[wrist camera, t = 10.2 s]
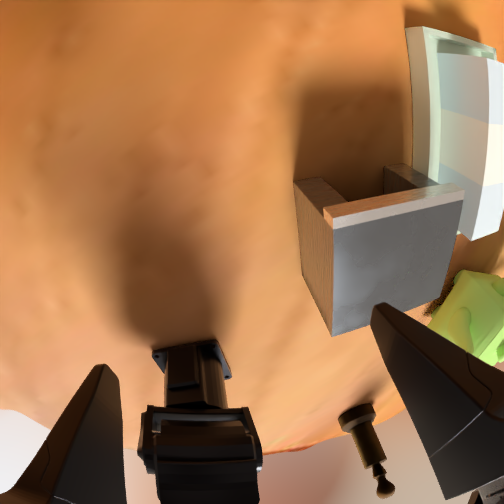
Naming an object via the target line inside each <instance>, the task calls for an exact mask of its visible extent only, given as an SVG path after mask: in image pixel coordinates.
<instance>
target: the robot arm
mask: <svg viewBox="0 0 504 504" xmlns="http://www.w3.org/2000/svg"><path fill="white" fill-rule="evenodd" d="M370 326H371V329H372V332H373V334H374V337H375V339H376V342H377V345H378V347H379V350H380V352H381V355H382V358H383V360H384V363H385V365H386V367H387V370H388V372H389V374H390V376H391V378H392V380H393V382H394V384H395V386H396V388H397V390H398V392H399V394H400V396H401V398H402V400H403V402H404V404H405V406H406V408H407V410H408V412H409V415H410V416H411V419H412V421H413V423H414V425H415V428H416V430H417V432H418V434H419V437H420V439H421V441H422V443H423V446H424V448H425V450H426V453H427V455H428V457H429V460H430V462H431V465H432V467H433V470H434V472H435V475H436V477H437V479H438V482H439V485H440V487H441V490H442V492H443V495H444V498H445V500H448V499H451V498H454V497H456V496H459V495H461V494H464V493H467V492H469V491H472V490H474V489H476V488H478V489H476V490H475V491H474V492H472V494H471V497H470V499H469V502H468V504H504V372H503V371H501V370H499V369H497V368H495V367H493V366H491V365H489V364H487V363H486V362H484V361H482V360H480V359H479V358H477V357H475V356H474V355H472V354H471V353H469V352H466V350H464V349H462V348H461V347H459V346H458V345H456V344H454V343H453V342H451V341H449V340H448V339H446V338H445V337H443V336H441V335H440V334H438V333H436V332H435V331H433V330H431V329H430V328H428V327H426V326H425V325H423V324H421V323H420V322H418V321H416V320H415V319H413V318H411V317H410V316H408V315H406V314H405V313H403V312H401V311H400V310H398V309H396V308H395V307H393V306H391V305H390V304H388V303H386V302H382V303H379V304H375V305H374V306H373V308H372V314H371V319H370ZM152 358H153V359H154V361H155V362H156V363H157V365H158V366H159V368H160V369H161V370H162V372H163V373H164V374H165V378H164V407H156V406H154V405H147V411H146V412H144V413H141V431H140V437H139V443H138V449H137V454H138V456H139V457H140V458H141V459H142V460H143V461H144V465H145V466H146V470H147V473H148V474H155V476H156V487H157V495H158V498H159V500H160V502H161V504H258V503H259V501H260V498H259V492H258V484H257V472H260V471H261V468H262V463H263V460H262V459H263V456H262V447H261V443H260V440H259V437H258V434H257V431H256V428H255V425H254V423H253V420H252V417H251V414H250V411H249V408H248V407H241V408H228V404H227V397H226V390H225V383H224V380H227V379H230V378H231V377H232V375H231V371H230V369H229V367H228V364H227V362H226V360H225V357H224V355H223V353H222V350H221V348H220V346H219V343H218V341H216V340H208V341H203V342H198V343H193V344H188V345H182V346H177V347H171V348H165V349H160V350H154V351H153V352H152ZM159 432H161V433H159ZM0 504H127V501H126V489H125V477H124V460H123V421H122V409H121V399H120V386H119V380H118V377H117V376H116V375H115V373H114V372H113V371H112V370H111V369H110V367H109V366H108V365H106V364H98V365H95V366H94V367H93V369H92V370H91V372H90V373H89V374H88V376H87V377H86V379H85V380H84V382H83V383H82V384H81V386H80V387H79V389H78V390H77V392H76V393H75V395H74V396H73V398H72V399H71V401H70V402H69V404H68V405H67V407H66V408H65V410H64V411H63V413H62V414H61V416H60V417H59V419H58V421H57V422H56V424H55V425H54V427H53V428H52V430H51V432H50V433H49V435H48V436H47V438H46V440H45V441H44V443H43V445H42V446H41V448H40V449H39V451H38V452H37V454H36V456H35V457H34V458H33V460H32V461H31V463H30V464H29V466H28V467H27V468H26V470H25V471H24V473H23V474H22V475H21V477H20V478H19V479H18V481H17V482H16V484H15V485H14V486H13V487H12V488H11V489H10V490H8V491H7V492H5V493H2V494H0Z"/></svg>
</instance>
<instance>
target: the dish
mask: <svg viewBox="0 0 504 504" xmlns="http://www.w3.org/2000/svg"><path fill="white" fill-rule="evenodd" d="M405 33H406V39H407V46H408V54H409V63H410V73H411V86H412V104H413V165H412V168H413V169H415V170H417V171H418V172H420V173H422V174H424V175H425V176H427V177H429V178H430V179H432V180H434V181H435V182H437V183H438V172H439V158H440V134H441V106H440V82H439V69H438V58H437V53H449V54H461V55H470V56H478V57H485V58H489V59H492V60H495V61H497V57H496V49H495V48H492V47H490V46H487V45H484V44H482V43H479V42H476V41H473V40H470V39H467V38H464V37H461V36H458V35H454V34H451V33H447V32H444V31H440V30H436V29H432V28H428V27H424V26H419V27H408V28H405ZM458 234H461V232H460V231H459V230H458V231H457V235H458Z"/></svg>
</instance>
